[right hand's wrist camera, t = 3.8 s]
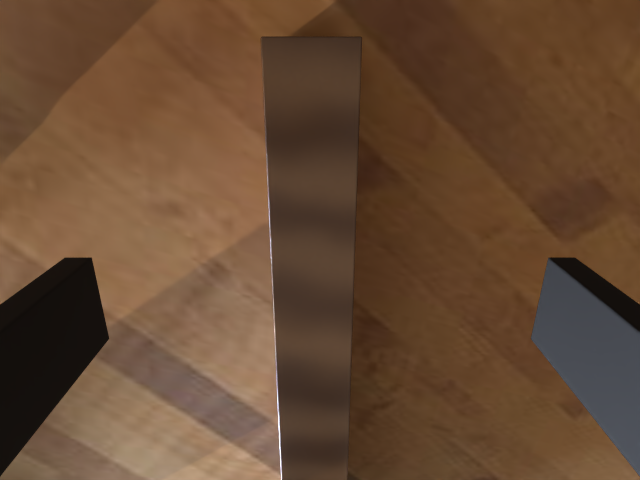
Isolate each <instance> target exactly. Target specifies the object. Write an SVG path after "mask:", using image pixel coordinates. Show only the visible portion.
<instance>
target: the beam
mask: <svg viewBox="0 0 640 480" xmlns="http://www.w3.org/2000/svg"><path fill="white" fill-rule="evenodd" d="M361 53H362V37H261V56H262V77H263V99H264V120H265V142H266V163H267V184H268V206H269V227H270V249H271V270H272V292H273V313H274V335H275V356H276V378H277V399H278V421H279V442H280V464H281V480H347V477H348V447H349V417H350V386H351V356H352V326H353V296H354V265H355V235H356V205H357V174H358V144H359V114H360V84H361Z"/></svg>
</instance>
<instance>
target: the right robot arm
mask: <svg viewBox="0 0 640 480" xmlns="http://www.w3.org/2000/svg"><path fill="white" fill-rule="evenodd" d="M108 339H109V336H108V331H107V327H106V322H105V318H104V313H103V308H102V304H101V299H100V294H99V290H98V285H97V280H96V276H95V271H94V266H93V262H92V258H64V259H62V260H61V261H60V262H58V263H57V264H56V265H54V266H53V267H51V268H50V269H49V270H47V271H46V272H45V273H43V274H42V275H40V276H39V277H38V278H36V279H35V280H34V281H32V282H31V283H29V284H28V285H27V286H25V287H24V288H23V289H21V290H20V291H18V292H17V293H16V294H14V295H13V296H12V297H10V298H9V299H8V300H6V301H5V302H3V303H2V304H1V305H0V476H1V475H2V474H3V472H4V471H5V470H6V468H7V467H8V466H9V465H10V463H11V462H12V461H13V460H14V458H15V457H16V456H17V455H18V453H19V452H20V451H21V449H22V448H23V447H24V446H25V444H26V443H27V442H28V441H29V439H30V438H31V437H32V436H33V434H34V433H35V432H36V431H37V429H38V428H39V427H40V425H41V424H42V423H43V422H44V420H45V419H46V418H47V417H48V415H49V414H50V413H51V412H52V410H53V409H54V408H55V406H56V405H57V404H58V403H59V401H60V400H61V399H62V398H63V396H64V395H65V394H66V393H67V391H68V390H69V389H70V388H71V386H72V385H73V384H74V382H75V381H76V380H77V379H78V377H79V376H80V375H81V374H82V372H83V371H84V370H85V369H86V367H87V366H88V365H89V363H90V362H91V361H92V360H93V358H94V357H95V356H96V355H97V353H98V352H99V351H100V350H101V348H102V347H103V346H104V345H105V343H106V342H107V341H108ZM531 339H532V341H533V342H534V343H535V345H536V346H537V347H538V348H539V350H540V351H541V352H542V353H543V355H544V356H545V357H546V358H547V360H548V361H549V362H550V363H551V365H552V366H553V367H554V369H555V370H556V371H557V372H558V374H559V375H560V376H561V377H562V379H563V380H564V381H565V382H566V384H567V385H568V386H569V388H570V389H571V390H572V391H573V393H574V394H575V395H576V396H577V398H578V399H579V400H580V401H581V403H582V404H583V405H584V406H585V408H586V409H587V410H588V412H589V413H590V414H591V415H592V417H593V418H594V419H595V420H596V422H597V423H598V424H599V425H600V427H601V428H602V429H603V431H604V432H605V433H606V434H607V436H608V437H609V438H610V439H611V441H612V442H613V443H614V444H615V446H616V447H617V448H618V449H619V451H620V452H621V453H622V455H623V456H624V457H625V458H626V460H627V461H628V462H629V463H630V465H631V466H632V467H633V468H634V470H635V471H636V472H637V474H638V475H639V476H640V305H639V304H638V303H637V302H635V301H634V300H632V299H631V298H630V297H628V296H627V295H626V294H624V293H623V292H622V291H620V290H619V289H617V288H616V287H615V286H613V285H612V284H611V283H609V282H608V281H606V280H605V279H604V278H602V277H601V276H600V275H598V274H597V273H595V272H594V271H593V270H591V269H590V268H589V267H587V266H586V265H584V264H583V263H582V262H580V261H579V260H578V259H576V258H548V262H547V266H546V271H545V276H544V280H543V285H542V290H541V294H540V299H539V304H538V308H537V313H536V318H535V322H534V327H533V331H532V336H531Z"/></svg>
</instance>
